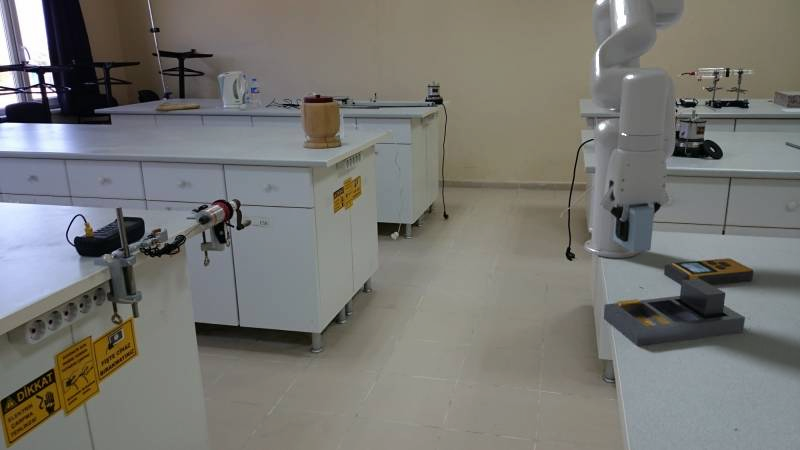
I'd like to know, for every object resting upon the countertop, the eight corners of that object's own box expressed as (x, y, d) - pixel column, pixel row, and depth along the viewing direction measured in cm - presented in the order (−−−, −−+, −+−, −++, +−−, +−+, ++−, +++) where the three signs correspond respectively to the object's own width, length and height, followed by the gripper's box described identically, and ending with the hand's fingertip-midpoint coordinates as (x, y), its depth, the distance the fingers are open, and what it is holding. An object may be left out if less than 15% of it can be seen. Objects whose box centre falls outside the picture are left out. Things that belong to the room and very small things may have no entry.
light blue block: (613, 240, 119) (616, 200, 117) (629, 238, 120) (633, 198, 117) (632, 252, 113) (636, 210, 110) (650, 250, 113) (654, 209, 111)
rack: (603, 318, 112) (606, 284, 110) (701, 306, 116) (704, 273, 114) (637, 346, 102) (640, 308, 100) (743, 332, 105) (748, 295, 103)
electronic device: (754, 284, 127) (757, 269, 126) (685, 290, 125) (687, 274, 124) (727, 269, 135) (730, 255, 134) (662, 275, 133) (663, 260, 132)
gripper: (668, 135, 115) (659, 228, 121) (587, 142, 112) (581, 236, 118) (694, 142, 108) (683, 240, 114) (608, 149, 105) (601, 249, 111)
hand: (631, 237), depth 116 cm, fingers closed on light blue block, 3 cm apart
